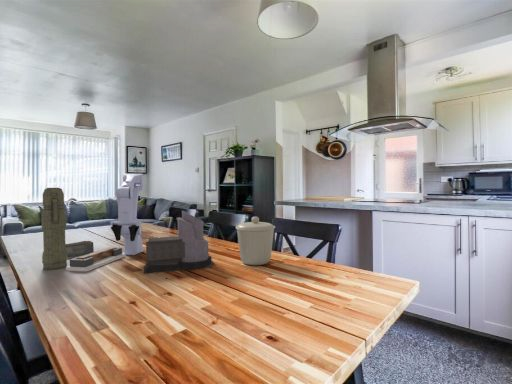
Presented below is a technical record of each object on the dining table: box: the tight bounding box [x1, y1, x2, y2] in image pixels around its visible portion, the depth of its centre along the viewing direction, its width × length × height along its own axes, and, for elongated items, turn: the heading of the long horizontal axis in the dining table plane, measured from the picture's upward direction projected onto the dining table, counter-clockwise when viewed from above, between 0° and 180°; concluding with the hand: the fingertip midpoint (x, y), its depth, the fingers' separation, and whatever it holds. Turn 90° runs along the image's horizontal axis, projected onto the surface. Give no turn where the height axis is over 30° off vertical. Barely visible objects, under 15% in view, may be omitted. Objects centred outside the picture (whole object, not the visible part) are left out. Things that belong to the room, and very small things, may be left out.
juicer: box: [143, 210, 215, 275], centre depth 124 cm, size 30×16×24 cm, turn 111°
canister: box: [235, 216, 276, 266], centre depth 128 cm, size 18×18×21 cm
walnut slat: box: [77, 246, 117, 262], centre depth 130 cm, size 20×3×4 cm, turn 169°
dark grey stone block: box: [65, 240, 95, 258], centre depth 145 cm, size 8×19×7 cm, turn 134°
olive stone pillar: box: [40, 187, 68, 271], centre depth 124 cm, size 9×12×35 cm
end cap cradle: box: [65, 247, 126, 272], centre depth 130 cm, size 25×10×4 cm, turn 169°
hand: (125, 240), depth 134 cm, fingers open, 7 cm apart
